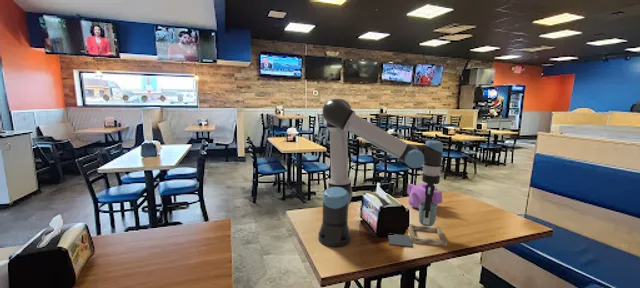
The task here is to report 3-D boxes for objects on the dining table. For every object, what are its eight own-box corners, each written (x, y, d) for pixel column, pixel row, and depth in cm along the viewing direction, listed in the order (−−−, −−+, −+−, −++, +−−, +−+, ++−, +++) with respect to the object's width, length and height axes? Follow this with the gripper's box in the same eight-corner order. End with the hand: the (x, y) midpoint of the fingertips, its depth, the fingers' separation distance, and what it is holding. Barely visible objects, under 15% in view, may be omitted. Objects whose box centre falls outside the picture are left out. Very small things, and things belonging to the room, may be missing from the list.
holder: (412, 242, 128) (412, 238, 128) (408, 228, 142) (408, 224, 142) (446, 246, 125) (447, 241, 125) (439, 231, 140) (439, 227, 139)
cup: (435, 223, 135) (437, 203, 133) (434, 229, 128) (436, 209, 126) (418, 219, 138) (420, 200, 136) (416, 225, 131) (418, 205, 130)
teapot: (433, 202, 179) (435, 179, 177) (444, 213, 161) (446, 188, 159) (403, 201, 180) (404, 179, 178) (411, 212, 162) (412, 188, 160)
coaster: (389, 244, 125) (389, 243, 125) (388, 234, 135) (388, 233, 135) (412, 247, 124) (412, 246, 124) (409, 236, 133) (409, 235, 133)
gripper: (439, 180, 118) (433, 230, 122) (441, 170, 137) (436, 214, 140) (420, 178, 121) (415, 227, 125) (425, 168, 140) (420, 211, 143)
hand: (426, 220), depth 133 cm, fingers closed on cup, 8 cm apart
